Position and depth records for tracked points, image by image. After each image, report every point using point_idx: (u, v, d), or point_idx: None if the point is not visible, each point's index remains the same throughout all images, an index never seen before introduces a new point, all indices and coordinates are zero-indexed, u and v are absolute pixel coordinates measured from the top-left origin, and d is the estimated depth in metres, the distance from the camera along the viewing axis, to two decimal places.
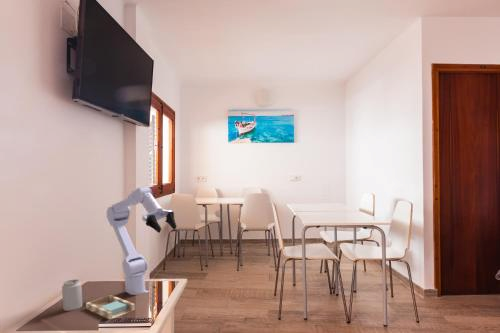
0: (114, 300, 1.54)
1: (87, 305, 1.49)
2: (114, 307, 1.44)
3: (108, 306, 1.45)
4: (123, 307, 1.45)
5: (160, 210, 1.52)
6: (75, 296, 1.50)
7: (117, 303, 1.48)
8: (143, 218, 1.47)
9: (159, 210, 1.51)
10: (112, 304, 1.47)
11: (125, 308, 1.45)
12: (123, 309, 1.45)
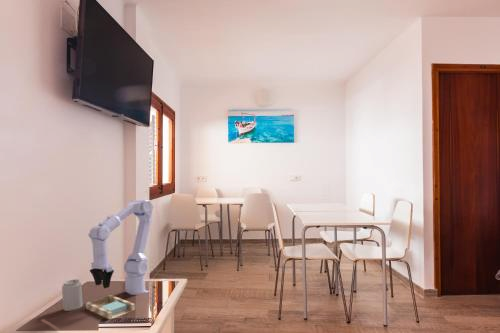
0: (114, 300, 1.54)
1: (87, 305, 1.49)
2: (114, 307, 1.44)
3: (108, 306, 1.45)
4: (123, 307, 1.45)
5: (94, 268, 1.49)
6: (76, 296, 1.50)
7: (117, 303, 1.48)
8: None
9: None
10: (112, 304, 1.47)
11: (125, 308, 1.45)
12: (123, 309, 1.45)
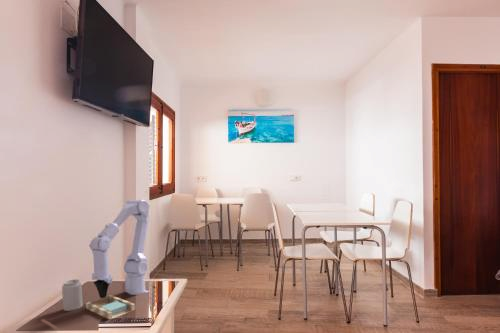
0: (114, 300, 1.54)
1: (87, 305, 1.49)
2: (114, 307, 1.44)
3: (108, 306, 1.45)
4: (123, 307, 1.45)
5: None
6: (75, 296, 1.50)
7: (117, 303, 1.48)
8: None
9: None
10: (112, 304, 1.47)
11: (125, 308, 1.45)
12: (123, 309, 1.45)
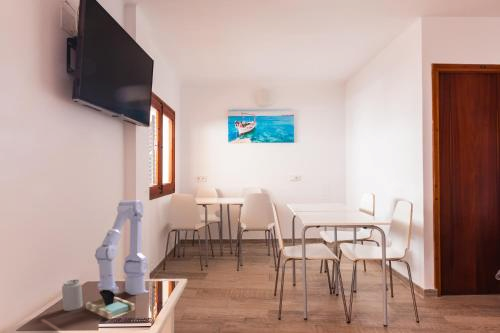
0: (114, 300, 1.54)
1: (87, 305, 1.49)
2: (116, 308, 1.43)
3: (110, 307, 1.44)
4: (125, 307, 1.44)
5: None
6: (75, 296, 1.50)
7: (118, 303, 1.48)
8: None
9: None
10: (114, 305, 1.46)
11: (127, 309, 1.44)
12: (125, 310, 1.44)
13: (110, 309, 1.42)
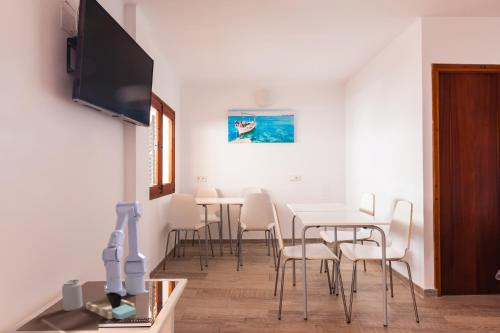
0: None
1: (87, 305, 1.49)
2: (123, 311, 1.39)
3: (117, 310, 1.40)
4: (132, 311, 1.40)
5: None
6: (75, 296, 1.50)
7: (126, 306, 1.44)
8: None
9: None
10: (121, 307, 1.43)
11: (134, 312, 1.41)
12: (132, 313, 1.40)
13: (118, 312, 1.38)
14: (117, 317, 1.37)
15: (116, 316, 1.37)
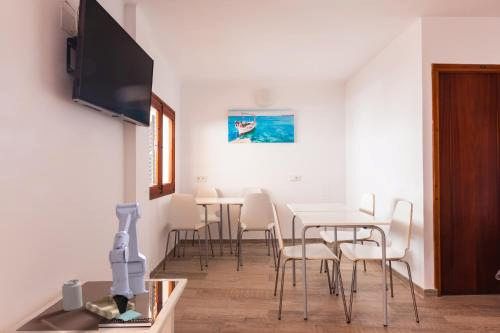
0: None
1: (87, 305, 1.49)
2: (129, 317, 1.36)
3: (123, 316, 1.37)
4: (138, 316, 1.37)
5: None
6: (75, 296, 1.50)
7: (131, 312, 1.41)
8: None
9: None
10: (127, 313, 1.40)
11: None
12: None
13: (123, 318, 1.35)
14: None
15: None
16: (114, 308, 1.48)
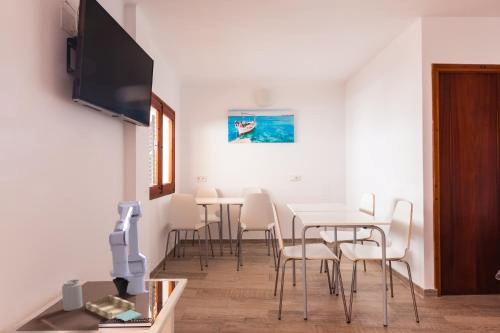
0: (114, 300, 1.54)
1: (87, 305, 1.49)
2: (129, 317, 1.36)
3: (122, 316, 1.37)
4: (138, 316, 1.37)
5: None
6: (75, 296, 1.50)
7: (131, 312, 1.41)
8: None
9: None
10: (126, 313, 1.40)
11: None
12: None
13: (123, 318, 1.35)
14: None
15: None
16: (114, 308, 1.48)
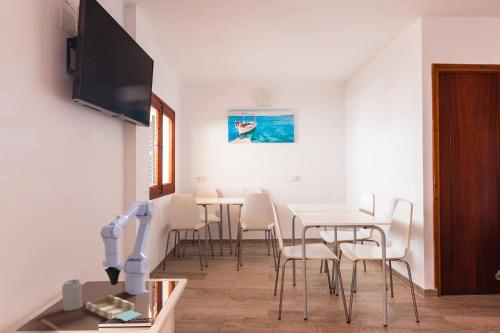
0: (114, 300, 1.54)
1: (87, 305, 1.49)
2: (129, 317, 1.36)
3: (122, 316, 1.37)
4: (138, 316, 1.37)
5: (106, 266, 1.50)
6: (76, 296, 1.50)
7: (131, 312, 1.41)
8: None
9: None
10: (126, 313, 1.40)
11: None
12: None
13: (123, 318, 1.35)
14: None
15: None
16: (114, 308, 1.48)
